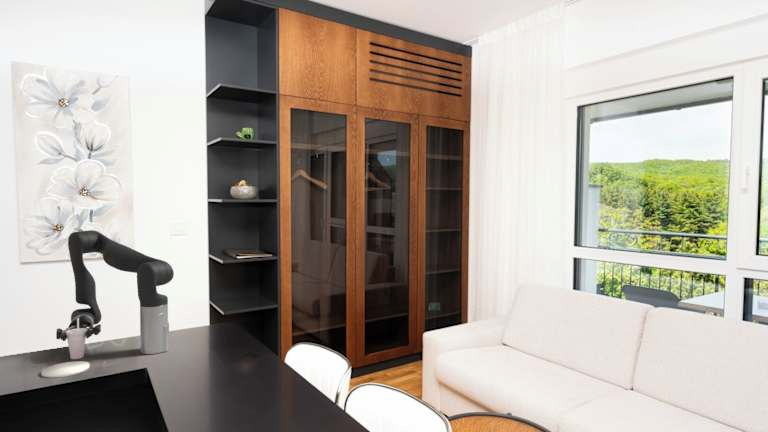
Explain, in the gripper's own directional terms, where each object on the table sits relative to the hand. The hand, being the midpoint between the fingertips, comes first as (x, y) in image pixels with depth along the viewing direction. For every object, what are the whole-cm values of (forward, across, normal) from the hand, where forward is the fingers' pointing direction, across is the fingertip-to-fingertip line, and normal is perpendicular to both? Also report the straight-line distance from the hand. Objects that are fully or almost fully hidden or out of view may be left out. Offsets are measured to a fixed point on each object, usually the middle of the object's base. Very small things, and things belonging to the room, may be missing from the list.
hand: (75, 336), depth 160 cm
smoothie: (-2, 0, +8) cm, 9 cm away
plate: (+12, -2, +8) cm, 14 cm away
